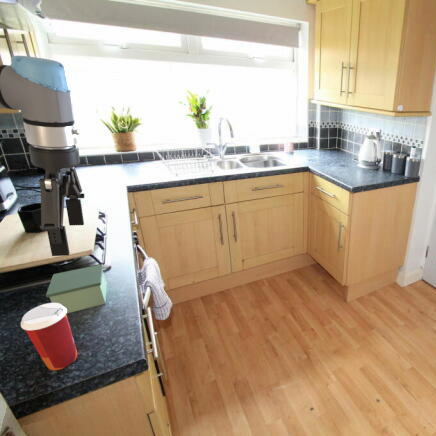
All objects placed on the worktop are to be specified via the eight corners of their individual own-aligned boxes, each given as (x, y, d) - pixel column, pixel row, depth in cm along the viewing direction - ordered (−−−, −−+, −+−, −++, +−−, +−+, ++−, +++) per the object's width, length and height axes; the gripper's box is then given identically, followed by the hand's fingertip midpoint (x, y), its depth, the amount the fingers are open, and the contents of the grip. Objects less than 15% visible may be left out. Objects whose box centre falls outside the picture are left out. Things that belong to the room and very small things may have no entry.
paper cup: (89, 345, 78) (72, 299, 72) (72, 372, 71) (51, 323, 65) (53, 349, 77) (33, 302, 71) (32, 376, 70) (8, 327, 64)
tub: (54, 317, 86) (45, 295, 83) (61, 295, 95) (53, 274, 92) (107, 304, 92) (100, 282, 89) (108, 284, 101) (102, 263, 98)
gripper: (60, 165, 54) (77, 269, 63) (90, 132, 74) (99, 214, 83) (0, 162, 51) (27, 272, 59) (49, 128, 71) (63, 214, 79)
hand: (69, 238), depth 71 cm, fingers open, 13 cm apart
